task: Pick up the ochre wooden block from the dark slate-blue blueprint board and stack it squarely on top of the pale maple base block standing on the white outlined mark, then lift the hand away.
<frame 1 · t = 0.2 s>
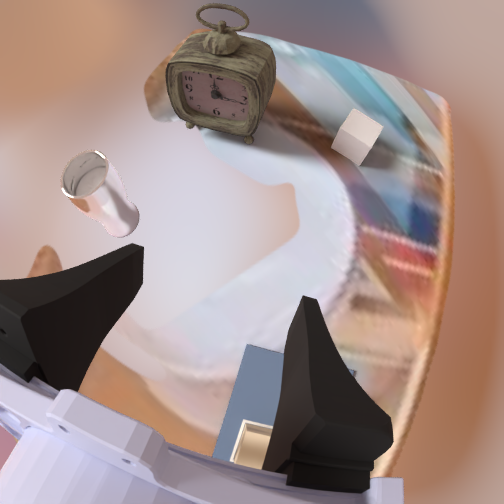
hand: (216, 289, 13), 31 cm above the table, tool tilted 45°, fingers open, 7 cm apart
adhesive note: (351, 146, 53), on the table
maple base block: (260, 446, 38), point 1 cm above the table, touching blueprint board
beer glass: (122, 219, 47), on the table
tabletop clock: (224, 123, 53), on the table
blueprint board: (279, 430, 40), on the table
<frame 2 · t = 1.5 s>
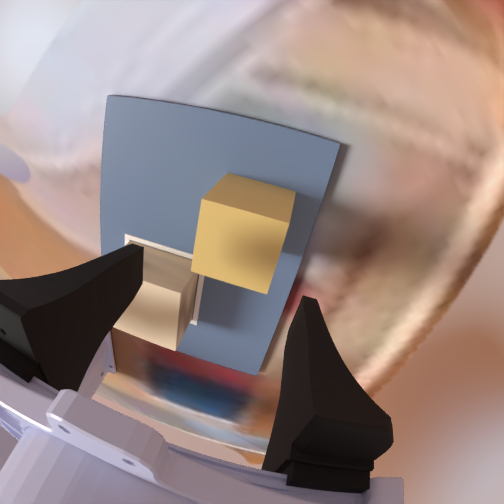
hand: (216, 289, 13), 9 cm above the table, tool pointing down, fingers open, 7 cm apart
ochre block: (253, 213, 21), point 1 cm above the table, touching blueprint board
maple base block: (161, 281, 25), point 1 cm above the table, touching blueprint board
blueprint board: (190, 254, 24), on the table
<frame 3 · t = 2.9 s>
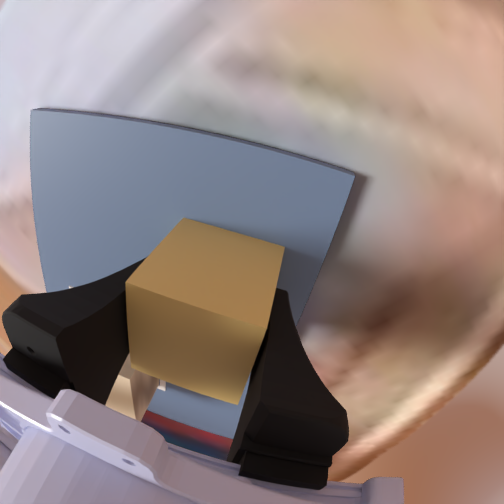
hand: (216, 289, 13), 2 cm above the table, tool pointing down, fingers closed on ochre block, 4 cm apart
ochre block: (223, 274, 15), point 1 cm above the table, touching blueprint board, gripper
maple base block: (118, 342, 19), point 1 cm above the table, touching blueprint board
blueprint board: (148, 315, 18), on the table
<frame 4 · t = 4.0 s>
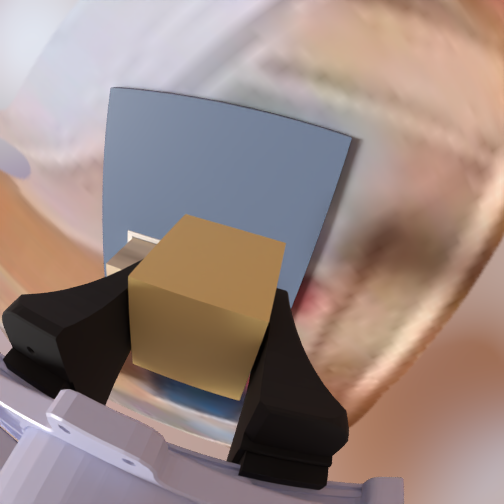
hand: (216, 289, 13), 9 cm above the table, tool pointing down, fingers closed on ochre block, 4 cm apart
ochre block: (225, 270, 15), point 7 cm above the table, touching gripper
maple base block: (165, 279, 25), point 1 cm above the table, touching blueprint board
blueprint board: (195, 251, 23), on the table
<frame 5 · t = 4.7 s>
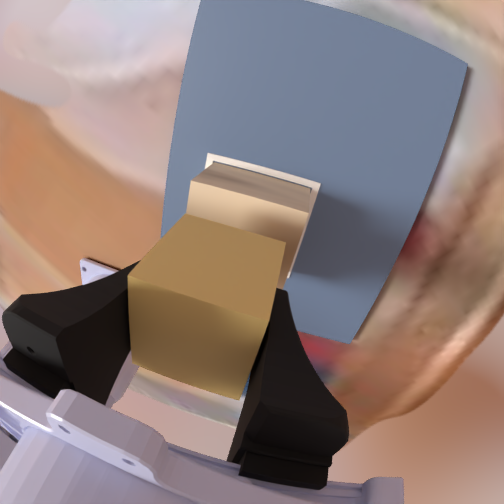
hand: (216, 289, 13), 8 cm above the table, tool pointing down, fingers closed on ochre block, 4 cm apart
ochre block: (225, 270, 15), point 7 cm above the table, touching gripper
maple base block: (251, 218, 20), point 1 cm above the table, touching blueprint board
blueprint board: (294, 180, 19), on the table
when the fingers open (7 cm above the table, at t = 5.3 s): ochre block drops 1 cm, resting on maple base block.
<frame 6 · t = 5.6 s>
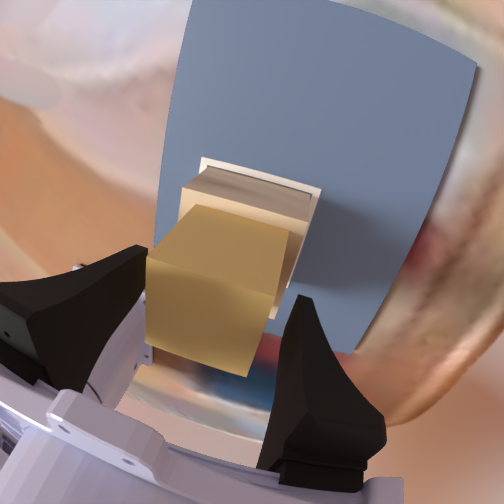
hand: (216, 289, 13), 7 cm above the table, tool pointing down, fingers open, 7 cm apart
ochre block: (232, 257, 16), point 5 cm above the table, touching maple base block
maple base block: (247, 225, 19), point 1 cm above the table, touching blueprint board, ochre block
blueprint board: (294, 186, 18), on the table
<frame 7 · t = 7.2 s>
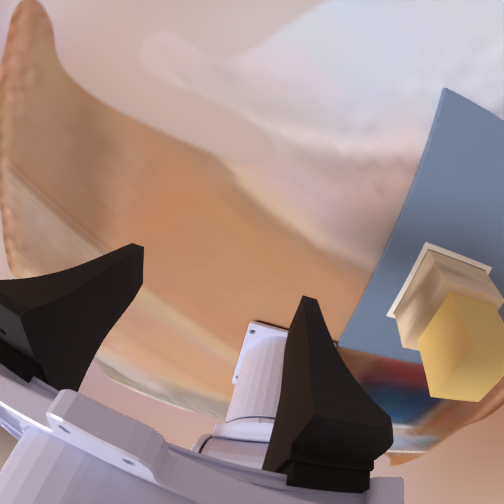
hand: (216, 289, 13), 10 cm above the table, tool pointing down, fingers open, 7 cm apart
ochre block: (456, 323, 18), point 5 cm above the table, touching maple base block
maple base block: (441, 291, 22), point 1 cm above the table, touching blueprint board, ochre block
blueprint board: (473, 263, 21), on the table
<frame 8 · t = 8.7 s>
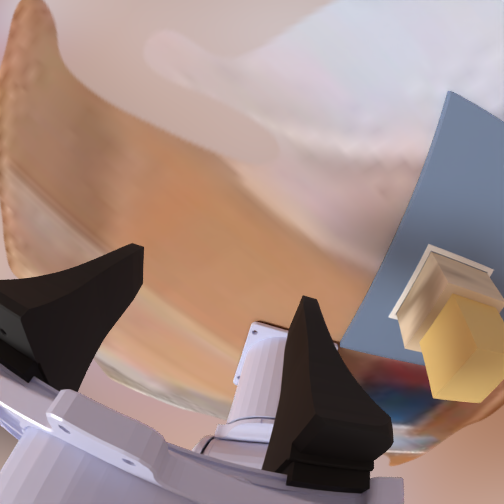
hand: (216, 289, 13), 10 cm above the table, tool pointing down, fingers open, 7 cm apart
ochre block: (458, 325, 18), point 5 cm above the table, touching maple base block
maple base block: (443, 293, 22), point 1 cm above the table, touching blueprint board, ochre block
blueprint board: (475, 265, 21), on the table
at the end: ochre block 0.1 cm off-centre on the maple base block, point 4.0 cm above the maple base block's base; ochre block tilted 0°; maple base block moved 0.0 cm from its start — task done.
